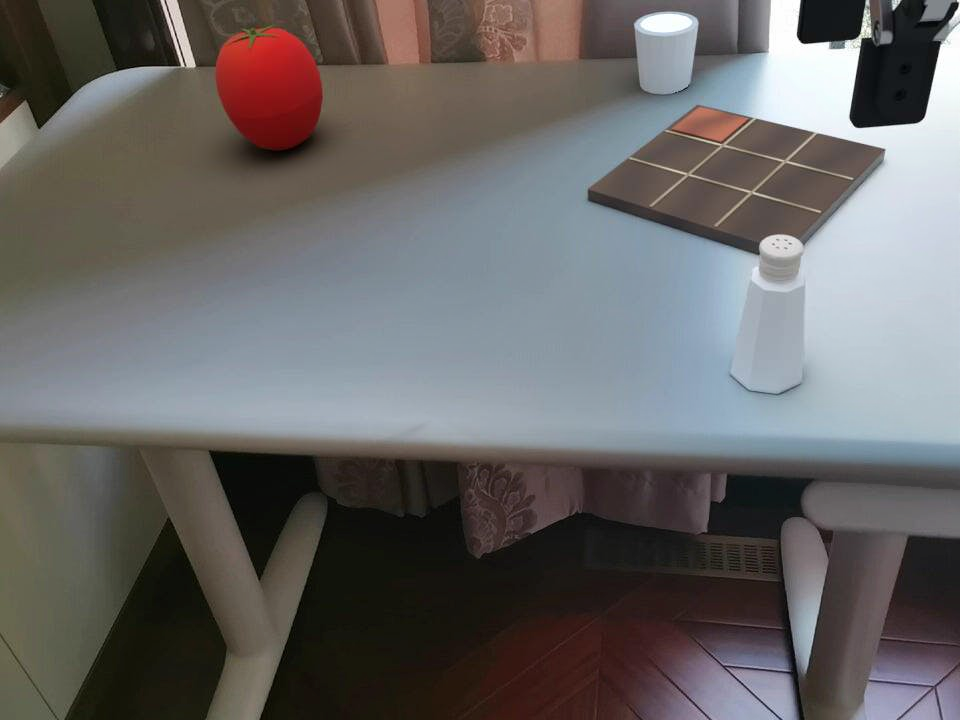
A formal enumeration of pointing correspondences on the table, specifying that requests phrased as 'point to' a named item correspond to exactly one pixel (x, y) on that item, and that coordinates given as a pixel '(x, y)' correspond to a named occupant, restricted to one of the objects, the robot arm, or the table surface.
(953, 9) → the robot arm
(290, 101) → the tomato
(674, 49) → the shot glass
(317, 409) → the table surface
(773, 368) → the pepper shaker
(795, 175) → the board
